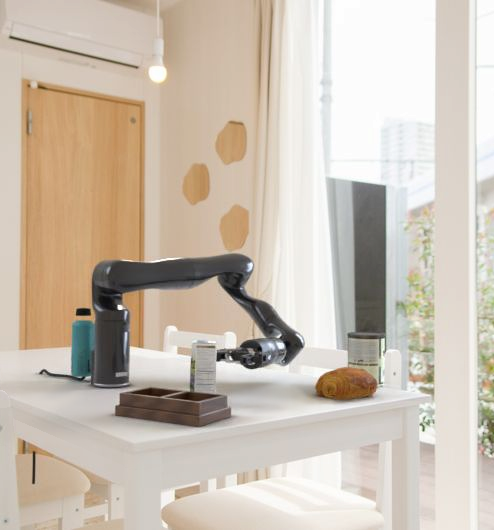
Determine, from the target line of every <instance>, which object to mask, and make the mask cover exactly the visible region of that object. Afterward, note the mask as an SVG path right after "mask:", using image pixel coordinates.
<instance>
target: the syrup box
mask: <svg viewBox="0 0 494 530" xmlns="http://www.w3.org/2000/svg"><path fill="white" fill-rule="evenodd" d="M217 344H218V343H217V341H215V340H210V339H209V340H207V339H197V340H196V339H195V340H192V341H191V349H190V365H189V366H190V368H189V391H194V392H203V393H212V394H216V381H217V380H216V379H217V376H216V375H217V362H216V352H217V350H218V349H217V348H218V347H217V346H218V345H217Z"/></svg>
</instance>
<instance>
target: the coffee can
mask: <svg viewBox="0 0 494 530" xmlns="http://www.w3.org/2000/svg"><path fill="white" fill-rule="evenodd" d="M346 336H347V367H353V368H359V369H364V370H366V371H367V372H368V373H370V374H371V375H372V376H373V377H374V378H375V379H376V380H377V388H381V387H384V386H385V351H386V350H385V348H386V347H385V345H386V344H385V337H386V333H384V332H376V331H375V332H374V331H351V332H347V335H346Z"/></svg>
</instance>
